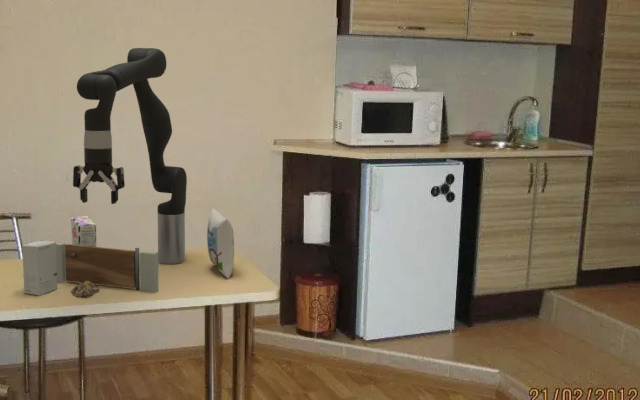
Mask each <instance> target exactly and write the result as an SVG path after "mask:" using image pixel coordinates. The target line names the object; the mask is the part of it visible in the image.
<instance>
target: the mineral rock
mask: <svg viewBox="0 0 640 400" xmlns="http://www.w3.org/2000/svg"><path fill="white" fill-rule="evenodd" d="M99 291H100V289H99V288H98V284H94V283H91V282H90V281H83V282H79V283H78V284H76V286H75V287H73V288H72V289H71V290H70V292H71V293H72V295H74V296H75V297H77V298H84V299H87V298H90V296H91V297H92V296H94V294H97V293H98V292H99Z"/></svg>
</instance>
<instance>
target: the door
mask: <svg viewBox="0 0 640 400" xmlns="http://www.w3.org/2000/svg"><path fill="white" fill-rule="evenodd" d="M65 260H66V281H65V282H76V283H80V282H83V281H90V282H91V283H94V284H95V285H101V286H109V287H110V286H112V287H119V288H128V289H136V270H135V250H132V249H120V248H110V247H101V246H96V247H92V246H82V245H72V243H71V244H70V243H65Z"/></svg>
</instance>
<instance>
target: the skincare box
mask: <svg viewBox="0 0 640 400" xmlns="http://www.w3.org/2000/svg"><path fill="white" fill-rule="evenodd" d="M56 244H57V242H56V241H49V240H38V241H33V242H30V243H26V244H23V245H21V246H22V266H23V267H22V268H23V292H24V294H29V295H33V296H42V295H44V294H48V293H49V292H51V291H56V290H57V289H58V282H57V263H56Z"/></svg>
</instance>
